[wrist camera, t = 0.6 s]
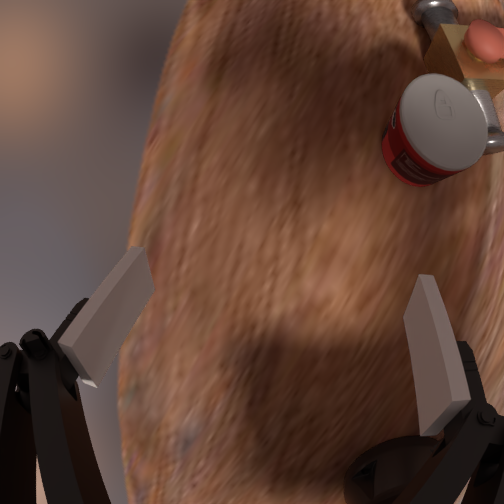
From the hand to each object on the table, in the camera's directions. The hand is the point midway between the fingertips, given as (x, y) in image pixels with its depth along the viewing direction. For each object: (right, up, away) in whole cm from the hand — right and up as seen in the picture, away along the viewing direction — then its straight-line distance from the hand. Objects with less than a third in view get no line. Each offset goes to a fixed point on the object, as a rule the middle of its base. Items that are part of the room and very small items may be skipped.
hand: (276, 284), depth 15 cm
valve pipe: (+22, +21, +12) cm, 33 cm away
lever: (+25, +21, +2) cm, 33 cm away
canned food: (+16, +12, +15) cm, 25 cm away
